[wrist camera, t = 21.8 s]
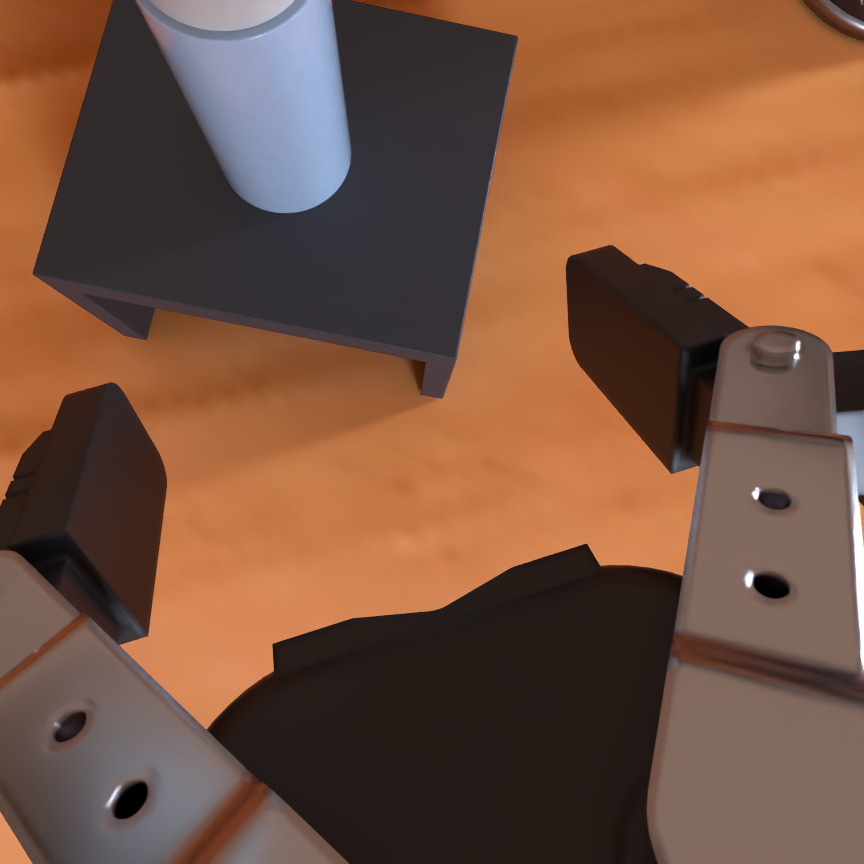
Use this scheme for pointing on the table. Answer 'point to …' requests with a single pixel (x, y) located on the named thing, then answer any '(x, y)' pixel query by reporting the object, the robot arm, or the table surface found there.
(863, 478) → the robot arm
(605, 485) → the table surface
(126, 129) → the shelf
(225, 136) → the salt shaker
